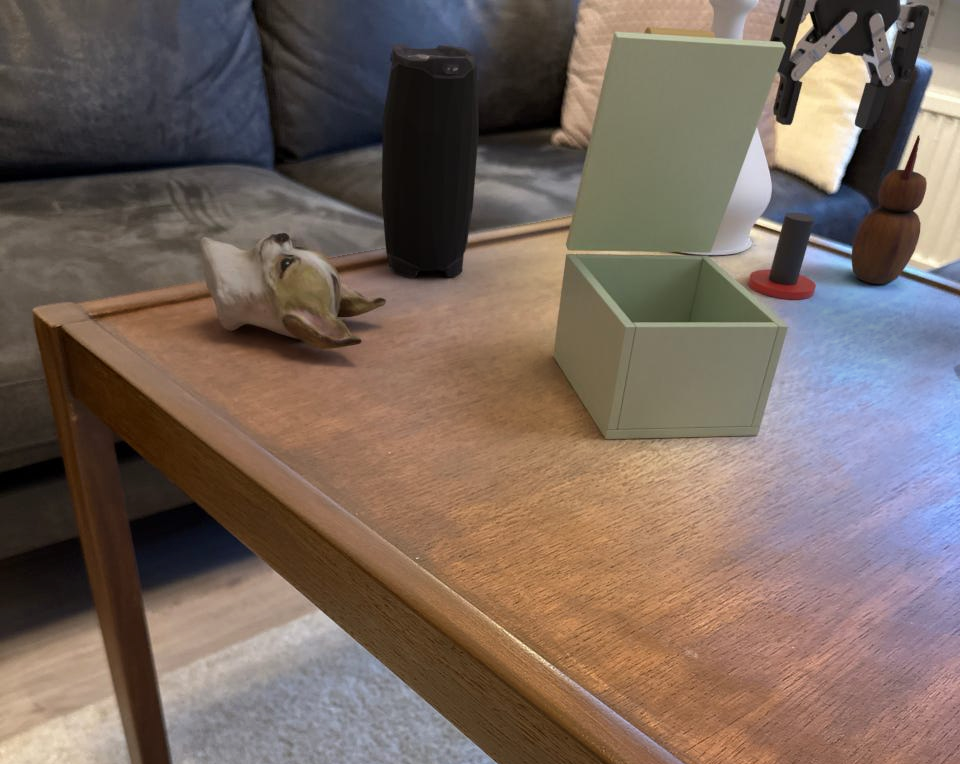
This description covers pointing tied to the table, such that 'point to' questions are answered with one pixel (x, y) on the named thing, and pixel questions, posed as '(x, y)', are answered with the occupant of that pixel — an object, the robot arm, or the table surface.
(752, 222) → the vase
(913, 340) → the table surface
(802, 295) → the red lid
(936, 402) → the table surface
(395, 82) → the portable speaker
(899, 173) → the wooden figurine
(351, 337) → the ceramic sculpture
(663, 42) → the chest lid
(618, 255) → the chest
